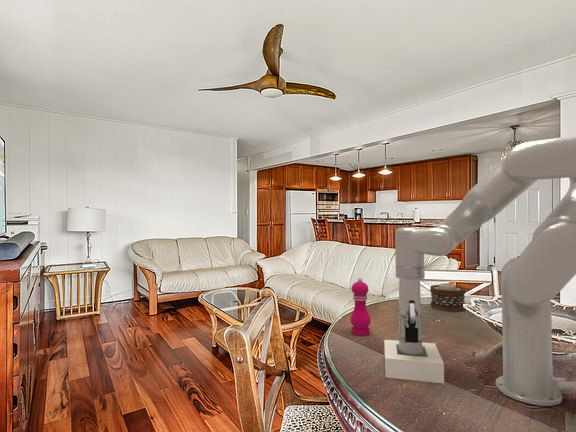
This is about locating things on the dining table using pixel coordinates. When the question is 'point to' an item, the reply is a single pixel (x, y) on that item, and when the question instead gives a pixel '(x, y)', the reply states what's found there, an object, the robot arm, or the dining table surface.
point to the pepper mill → (360, 309)
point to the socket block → (414, 363)
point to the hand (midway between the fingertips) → (410, 337)
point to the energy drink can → (404, 346)
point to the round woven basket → (447, 297)
